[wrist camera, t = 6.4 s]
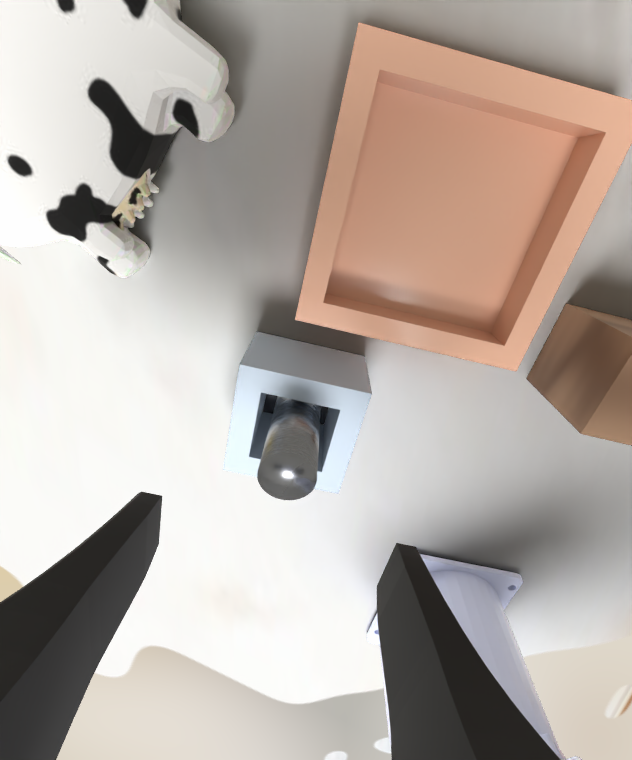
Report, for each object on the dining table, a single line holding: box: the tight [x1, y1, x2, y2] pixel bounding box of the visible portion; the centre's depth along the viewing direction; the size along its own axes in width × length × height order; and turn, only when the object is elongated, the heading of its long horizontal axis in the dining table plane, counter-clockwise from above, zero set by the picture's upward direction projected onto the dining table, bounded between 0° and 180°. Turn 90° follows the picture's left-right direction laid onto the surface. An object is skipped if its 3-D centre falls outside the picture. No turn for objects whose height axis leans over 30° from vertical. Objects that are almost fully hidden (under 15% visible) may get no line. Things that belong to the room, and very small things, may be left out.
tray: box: [295, 23, 632, 371], centre depth 16 cm, size 10×10×2 cm
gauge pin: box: [257, 396, 321, 500], centre depth 18 cm, size 2×2×7 cm
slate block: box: [223, 332, 372, 494], centre depth 19 cm, size 6×6×4 cm
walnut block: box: [526, 303, 632, 445], centre depth 17 cm, size 4×4×5 cm
